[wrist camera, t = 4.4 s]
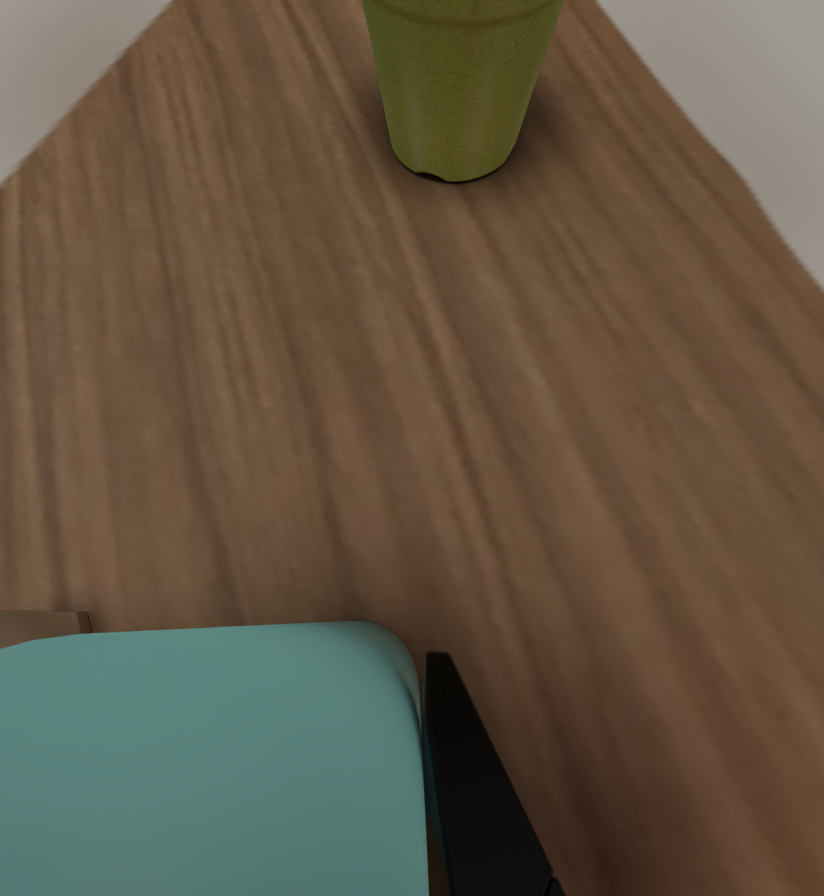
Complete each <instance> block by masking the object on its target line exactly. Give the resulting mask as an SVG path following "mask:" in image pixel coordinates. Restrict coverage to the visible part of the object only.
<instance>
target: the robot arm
mask: <svg viewBox="0 0 824 896" xmlns="http://www.w3.org/2000/svg"><path fill="white" fill-rule="evenodd" d="M421 743H422V759H423V778H424V799H425V820H426V841H427V863H428V884H429V896H566V895H565V893H564V891H563V889H562V886H561V884H560V882H559V880H558V879H557V878H556V877H553V874H554V871H553V868H552V866H551V864H550V862H549V860H548V858H547V856H546V854H545V852H544V849H543V847H542V845H541V843H540V841H539V839H538V837H537V835H536V833H535V831H534V829H533V826H532V824H531V822H530V820H529V818H528V816H527V814H526V812H525V810H524V808H523V806H522V803H521V801H520V799H519V797H518V795H517V793H516V791H515V789H514V787H513V785H512V783H511V780H510V778H509V776H508V774H507V772H506V770H505V768H504V766H503V764H502V762H501V760H500V757H499V755H498V753H497V751H496V749H495V747H494V745H493V743H492V741H491V739H490V737H489V734H488V732H487V730H486V728H485V726H484V724H483V722H482V720H481V718H480V716H479V714H478V711H477V709H476V707H475V705H474V703H473V701H472V699H471V697H470V695H469V693H468V691H467V688H466V686H465V684H464V682H463V680H462V678H461V676H460V674H459V672H458V670H457V668H456V665H455V663H454V661H453V659H452V657H451V656H450V654H449V653H447V652H440V651H428V652H426V654H425V665H424V681H423V703H422V732H421ZM552 877H553V878H552Z"/></svg>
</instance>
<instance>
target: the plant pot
mask: <svg viewBox="0 0 824 896" xmlns="http://www.w3.org/2000/svg"><path fill="white" fill-rule="evenodd" d="M362 2H363V7H364V12H365V16H366V21H367V26H368V31H369V36H370V40H371V45H372V50H373V55H374V60H375V66H376V71H377V76H378V81H379V86H380V91H381V96H382V101H383V106H384V111H385V117H386V122H387V127H388V131H389V136H390V141H391V145H392V148H393V150H394V153H395V154H396V156H397V157H398V159H399V160H400V161H401V162H402V163H403V164H404V165H405V166H406V167H408V168H409V169H410V170H412V171H414V172H416V173H420V172H426V173H430V174H434V175H436V176H438V177H440V178H442V179H443V180H445V181H466V180H471V179H475V178H478V177H481V176H484V175H486V174H488V173H490V172H492V171H494V170H495V169H497V168H498V167H499V166H501V165H502V164H503V163H504V162H505V161H506V159H507V157H508V156H509V154H510V152H511V150H512V148H513V147H514V145H515V143H516V140H517V137H518V134H519V131H520V128H521V125H522V122H523V119H524V116H525V113H526V110H527V107H528V104H529V101H530V98H531V95H532V92H533V89H534V86H535V83H536V80H537V77H538V74H539V71H540V68H541V65H542V62H543V59H544V56H545V53H546V51H547V48H548V45H549V42H550V39H551V36H552V33H553V31H554V28H555V25H556V22H557V19H558V16H559V14H560V11H561V8H562V5H563V2H564V0H362Z"/></svg>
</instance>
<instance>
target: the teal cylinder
mask: <svg viewBox="0 0 824 896" xmlns="http://www.w3.org/2000/svg"><path fill="white" fill-rule="evenodd" d="M0 896H429V884H428V863H427V841H426V820H425V799H424V778H423V759H422V743H421V714H420V693H419V680H418V673H417V669H416V666H415V663H414V660H413V658H412V656H411V654H410V652H409V650H408V649H407V647H406V646H405V645H404V643H403V642H402V641H401V640H400V639H399V638H398V637H397V636H396V635H395V634H394V633H393V632H391V631H390V630H388V629H386V628H385V627H383V626H381V625H378V624H376V623H372V622H368V621H335V622H315V623H294V624H274V625H253V626H233V627H213V628H192V629H172V630H151V631H131V632H110V633H90V634H74V635H67V636H60V637H53V638H46V639H38V640H32V641H28V642H24V643H21V644H17V645H13V646H10V647H6V648H2V649H0Z"/></svg>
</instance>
